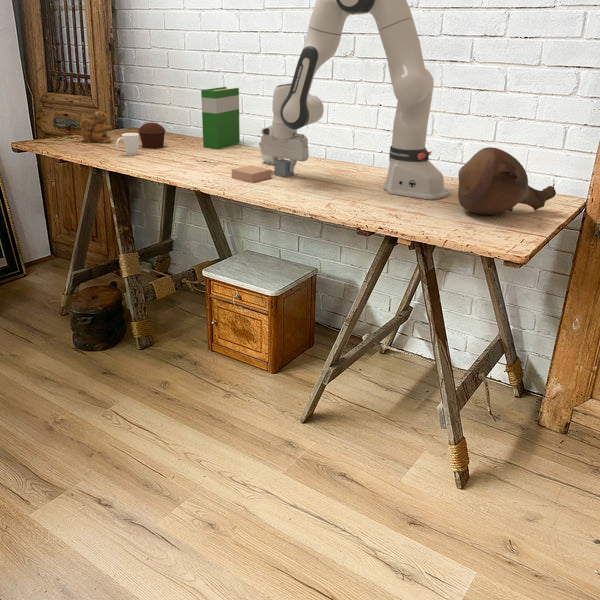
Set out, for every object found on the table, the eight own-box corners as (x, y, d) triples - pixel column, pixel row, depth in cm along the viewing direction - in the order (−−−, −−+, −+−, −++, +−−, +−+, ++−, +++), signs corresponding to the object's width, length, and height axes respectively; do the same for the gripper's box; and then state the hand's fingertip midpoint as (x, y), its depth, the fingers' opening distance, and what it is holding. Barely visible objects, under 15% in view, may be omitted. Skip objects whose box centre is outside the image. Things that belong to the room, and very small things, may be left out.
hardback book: (226, 141, 286) (224, 86, 276) (239, 143, 283) (238, 87, 273) (203, 147, 272) (201, 89, 262) (217, 149, 268) (215, 91, 259)
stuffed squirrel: (113, 143, 275) (110, 112, 270) (79, 143, 272) (76, 112, 267) (114, 139, 284) (111, 109, 279) (81, 139, 281) (78, 109, 276)
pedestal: (271, 177, 223) (271, 169, 221) (252, 182, 216) (252, 174, 214) (251, 173, 228) (251, 165, 227) (231, 177, 221) (231, 169, 220)
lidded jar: (261, 165, 241) (261, 141, 237) (257, 160, 250) (257, 136, 246) (288, 165, 243) (289, 140, 239) (283, 159, 252) (283, 136, 249)
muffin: (134, 148, 266) (132, 124, 262) (146, 143, 276) (144, 120, 272) (160, 150, 264) (158, 125, 260) (170, 145, 274) (169, 122, 270)
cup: (144, 154, 254) (142, 134, 251) (122, 157, 248) (120, 137, 245) (135, 152, 259) (133, 132, 256) (113, 154, 253) (111, 134, 249)
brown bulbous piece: (453, 220, 180) (548, 237, 184) (478, 158, 169) (579, 178, 173) (438, 189, 196) (526, 206, 201) (460, 130, 185) (553, 149, 189)
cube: (293, 174, 228) (293, 161, 226) (284, 177, 224) (285, 163, 222) (283, 172, 231) (283, 159, 229) (274, 174, 227) (274, 161, 225)
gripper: (313, 134, 218) (311, 173, 223) (269, 127, 229) (269, 164, 235) (301, 136, 213) (300, 176, 219) (257, 128, 225) (258, 167, 230)
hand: (284, 170), depth 227 cm, fingers closed on cube, 5 cm apart
